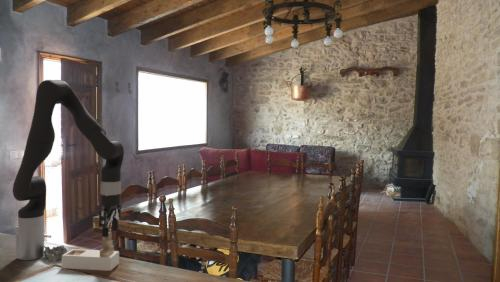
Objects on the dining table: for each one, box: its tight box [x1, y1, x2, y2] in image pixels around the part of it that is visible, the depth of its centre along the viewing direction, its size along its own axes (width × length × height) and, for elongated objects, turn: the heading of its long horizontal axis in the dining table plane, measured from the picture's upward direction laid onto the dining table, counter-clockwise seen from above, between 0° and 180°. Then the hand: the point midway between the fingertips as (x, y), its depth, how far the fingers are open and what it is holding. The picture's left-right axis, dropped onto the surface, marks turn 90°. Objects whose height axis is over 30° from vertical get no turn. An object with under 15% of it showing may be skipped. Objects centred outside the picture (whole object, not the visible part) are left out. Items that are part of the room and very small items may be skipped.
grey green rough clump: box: [43, 245, 68, 262], centre depth 158 cm, size 11×8×4 cm
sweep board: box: [61, 248, 120, 272], centre depth 149 cm, size 20×8×5 cm, turn 85°
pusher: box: [100, 231, 115, 257], centre depth 148 cm, size 3×6×8 cm, turn 176°
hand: (110, 233), depth 148 cm, fingers open, 8 cm apart
